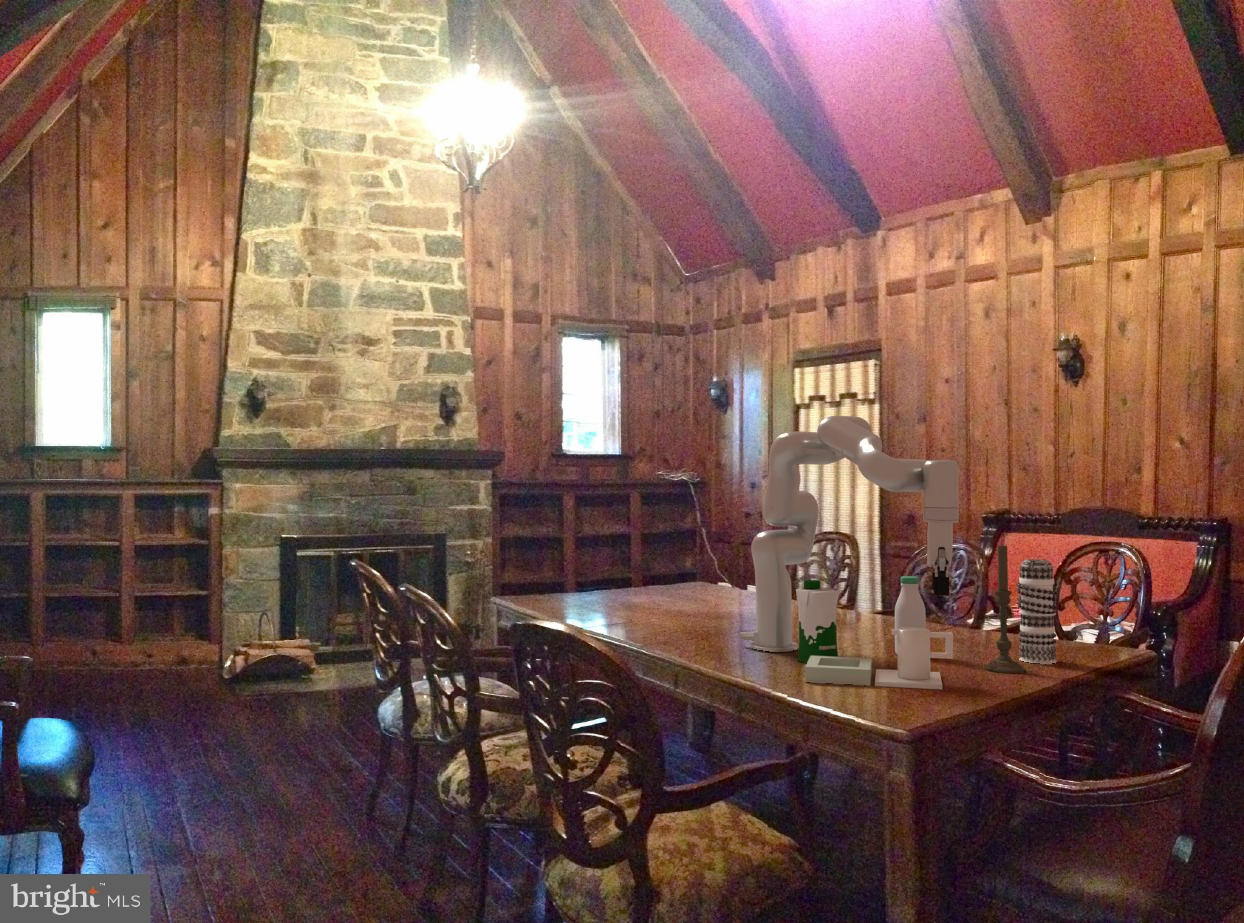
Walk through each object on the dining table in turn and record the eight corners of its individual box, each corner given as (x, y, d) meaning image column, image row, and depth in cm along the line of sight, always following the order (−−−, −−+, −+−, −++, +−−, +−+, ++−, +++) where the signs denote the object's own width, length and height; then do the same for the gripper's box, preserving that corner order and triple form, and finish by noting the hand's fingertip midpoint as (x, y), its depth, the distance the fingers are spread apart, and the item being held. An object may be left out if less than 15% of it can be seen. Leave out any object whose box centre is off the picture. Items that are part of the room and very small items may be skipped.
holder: (805, 682, 213) (805, 666, 213) (810, 670, 226) (810, 655, 226) (870, 685, 209) (870, 669, 209) (871, 673, 222) (871, 658, 222)
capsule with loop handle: (891, 678, 211) (891, 630, 211) (891, 672, 218) (891, 626, 218) (954, 681, 207) (953, 633, 208) (952, 675, 214) (951, 628, 215)
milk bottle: (928, 657, 241) (926, 578, 242) (896, 656, 243) (895, 577, 243) (924, 652, 249) (923, 575, 249) (894, 651, 250) (893, 574, 251)
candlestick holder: (976, 666, 230) (975, 541, 230) (1013, 665, 231) (1011, 541, 231) (994, 673, 221) (992, 544, 221) (1032, 672, 221) (1030, 543, 222)
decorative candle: (1026, 656, 242) (1025, 557, 243) (1064, 661, 235) (1062, 559, 236) (1011, 661, 236) (1009, 559, 236) (1049, 666, 229) (1047, 561, 230)
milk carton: (820, 658, 242) (819, 578, 242) (844, 664, 234) (843, 582, 234) (792, 661, 238) (792, 580, 238) (816, 667, 230) (815, 584, 230)
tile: (874, 685, 209) (874, 681, 209) (876, 673, 222) (876, 669, 222) (942, 689, 205) (942, 684, 205) (939, 676, 218) (939, 672, 218)
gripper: (922, 513, 221) (921, 587, 221) (924, 517, 205) (923, 596, 205) (956, 513, 219) (956, 588, 219) (961, 517, 203) (960, 598, 203)
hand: (940, 592), depth 212 cm, fingers open, 9 cm apart
